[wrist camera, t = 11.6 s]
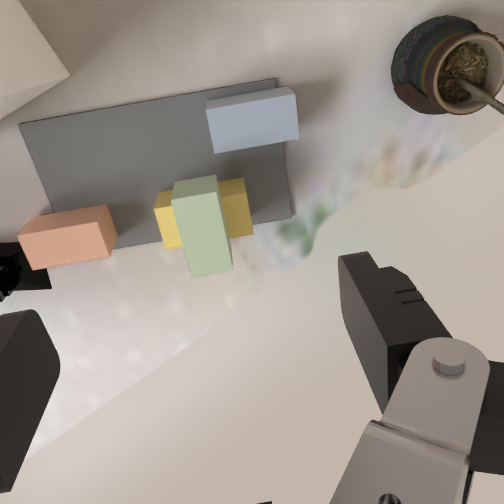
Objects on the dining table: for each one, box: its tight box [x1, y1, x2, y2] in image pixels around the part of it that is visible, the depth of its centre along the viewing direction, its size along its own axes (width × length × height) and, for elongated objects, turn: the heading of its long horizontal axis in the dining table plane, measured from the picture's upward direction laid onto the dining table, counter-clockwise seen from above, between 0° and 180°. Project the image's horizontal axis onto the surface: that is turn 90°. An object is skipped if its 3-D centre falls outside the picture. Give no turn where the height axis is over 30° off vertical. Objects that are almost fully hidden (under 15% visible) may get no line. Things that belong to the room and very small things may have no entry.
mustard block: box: [154, 177, 254, 250], centre depth 40 cm, size 8×4×4 cm, turn 99°
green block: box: [171, 175, 233, 278], centre depth 37 cm, size 7×4×4 cm, turn 9°
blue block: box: [206, 86, 300, 154], centre depth 37 cm, size 7×4×4 cm, turn 99°
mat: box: [18, 78, 292, 249], centre depth 41 cm, size 22×13×1 cm, turn 99°
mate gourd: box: [391, 15, 504, 115], centre depth 34 cm, size 7×8×10 cm
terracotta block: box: [17, 204, 118, 270], centre depth 40 cm, size 7×4×4 cm, turn 99°
